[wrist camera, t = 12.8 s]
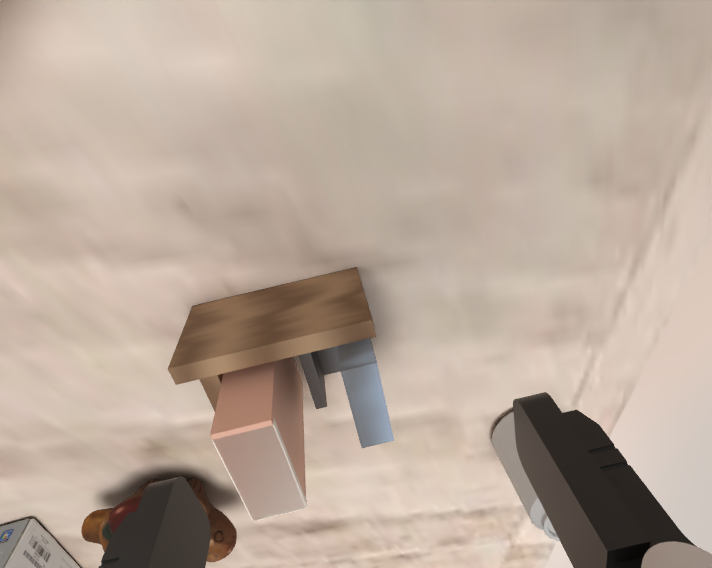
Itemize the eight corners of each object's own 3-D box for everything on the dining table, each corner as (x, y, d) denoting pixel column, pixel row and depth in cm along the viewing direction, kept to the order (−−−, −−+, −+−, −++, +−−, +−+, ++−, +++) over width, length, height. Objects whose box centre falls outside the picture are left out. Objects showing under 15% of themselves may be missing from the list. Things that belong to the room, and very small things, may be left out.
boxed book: (277, 310, 41) (271, 419, 29) (302, 384, 46) (306, 508, 33) (234, 320, 41) (209, 435, 29) (263, 394, 46) (252, 521, 33)
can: (528, 455, 55) (585, 552, 44) (476, 443, 53) (523, 542, 42) (563, 410, 52) (632, 501, 42) (509, 396, 50) (568, 488, 39)
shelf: (356, 267, 40) (379, 343, 30) (380, 374, 46) (406, 470, 36) (192, 306, 40) (156, 397, 30) (237, 409, 46) (220, 515, 35)
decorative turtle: (245, 514, 53) (238, 585, 46) (110, 528, 52) (81, 603, 45) (237, 455, 49) (228, 523, 42) (89, 468, 47) (53, 541, 40)
